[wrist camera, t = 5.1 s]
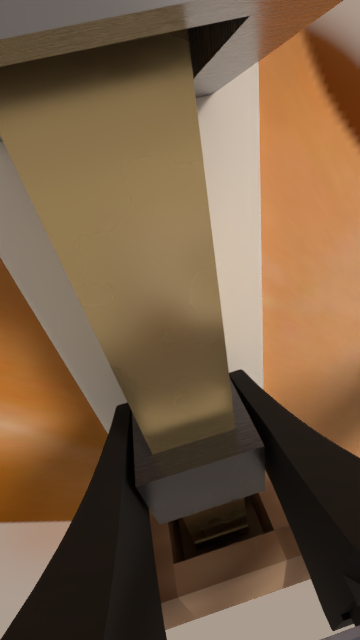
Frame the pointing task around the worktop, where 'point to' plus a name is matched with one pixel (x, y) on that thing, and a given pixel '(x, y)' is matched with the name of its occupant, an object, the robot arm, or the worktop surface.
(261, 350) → the board
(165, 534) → the socket
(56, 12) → the sleeve
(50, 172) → the plug
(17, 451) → the worktop surface
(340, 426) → the worktop surface
